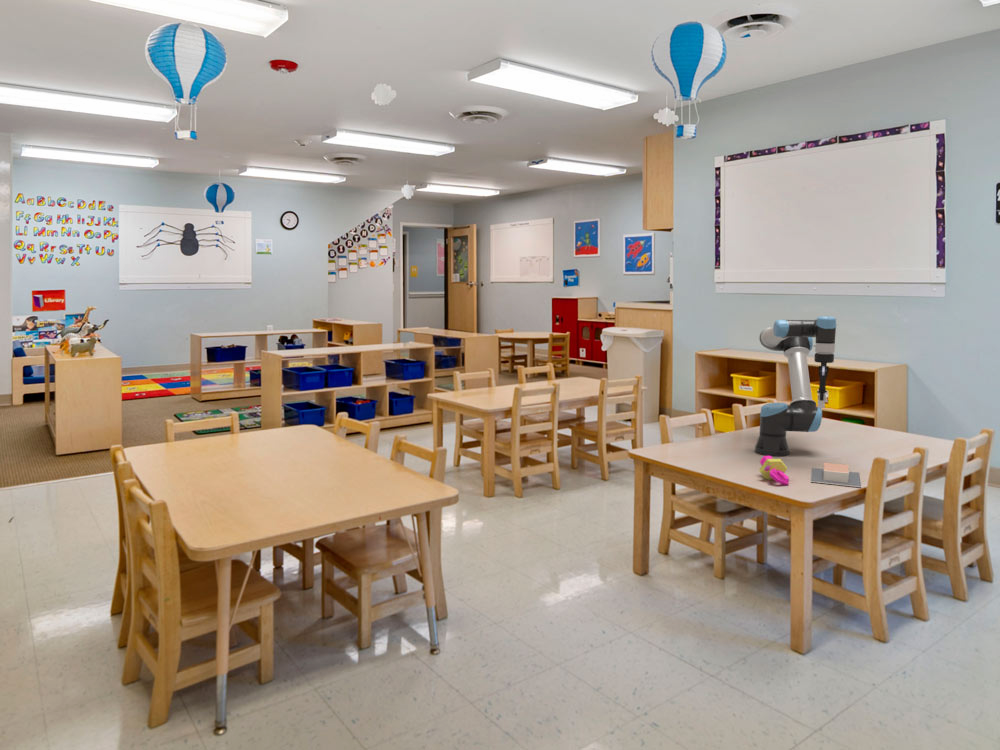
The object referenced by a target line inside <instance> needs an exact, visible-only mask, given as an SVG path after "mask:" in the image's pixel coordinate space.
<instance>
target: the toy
mask: <svg viewBox="0 0 1000 750" xmlns="http://www.w3.org/2000/svg"><path fill="white" fill-rule="evenodd" d="M759 462H760V465H761V467H760V468H759V470H758V472H760V473H761V475H762V477H764V478H765V479H766V480H772V481H773V480H774V481H775V482H776V483H779V484H780V485H784V486H786V485H789V481H790V479H789V478H790V477H789V476H788V475H787V474H786V471H787V470H788V466H786V464H785V463H784V461H783V460H782V459H781V458H773V456H769V455H763V456H762V458H761V459H760V461H759Z"/></svg>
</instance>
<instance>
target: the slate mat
mask: <svg viewBox="0 0 1000 750" xmlns="http://www.w3.org/2000/svg"><path fill="white" fill-rule="evenodd" d="M823 475H824V468H817V467H812V469H811V477H810V483H811V484H818V485H826V486H827V485H829V486H836V487H843V488H844V487H845V488H851V489H853V488H854V489H862V482H861V475H860V472H858V471H857V472H856V471H849V479H848V483H842V482H833V481H824V480H823Z"/></svg>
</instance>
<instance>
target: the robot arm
mask: <svg viewBox="0 0 1000 750" xmlns="http://www.w3.org/2000/svg"><path fill="white" fill-rule="evenodd" d="M836 329H837V318H836V317H835V316H817V318H816V319H776V320H775V321H774V323H773V326H770V327H769V326H768V327H766V328H764V329H763V330H762V331H761V332H760V334H759V336H758V338H759V342H760V344H761V345H762V346H763V347H764V348H766V349H768V350H770V351H776V352H783V355H784V357H785V358H787V363H788V373H789V374H788V375H789V381H790V389H791V390H790V391H791V400H792V401H791V402H790V403H789V404H787V403H786V402H770V403H766V404H763V405H762V406H761V407H760V414H759V417H760V419H759V436H758V438H757V441H756V443H755V445H754V452H755V453H756V454H759V455H763V456H772V457H784V456H788V455H790V447H789V443H788V440H787V432H798V433H799V432H801V433H811V432H813V433H815V432H817V431H818V430H819V429H820V427H821V423H822V419H823V410H822V409H825V406H826V405H825V404H826V393H828V390H826V384H827V378H828V376H829V375H828V373H829V365H827V364H832V363H834V361H835V354H834V353H835V348H836V343H835V342H836V334H837V333H836V332H837V331H836ZM813 338H815V344H814V341H813V340H814V339H813ZM813 344H814V345H813ZM813 348H814V352H815V353H814V360H813V361H814V362H815V363H820V365H818V367H817V368H818V377H819V383H818V384H819V386H818V387H819V388H818V390H817V391H816V393H817V394H818V396H817V402H816V401H815V400H813V396H812V387H811V381H810V374H809V373H810V372H809V364H808V358H807V357H808V356H809V354H810V352H811V351H812V350H813Z"/></svg>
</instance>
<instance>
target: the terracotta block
mask: <svg viewBox="0 0 1000 750" xmlns="http://www.w3.org/2000/svg"><path fill="white" fill-rule="evenodd" d="M823 469H824V475H823V480H824V481H833V482H842V483H848V479H849V472H850V471H849V465H848V464H841V463H840V464H839V463H831V462H824V463H823Z"/></svg>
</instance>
